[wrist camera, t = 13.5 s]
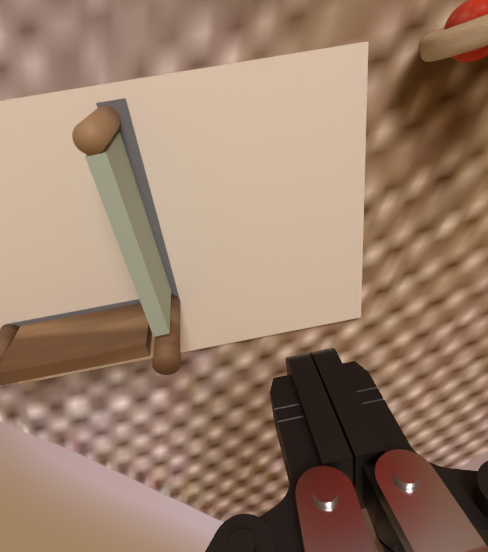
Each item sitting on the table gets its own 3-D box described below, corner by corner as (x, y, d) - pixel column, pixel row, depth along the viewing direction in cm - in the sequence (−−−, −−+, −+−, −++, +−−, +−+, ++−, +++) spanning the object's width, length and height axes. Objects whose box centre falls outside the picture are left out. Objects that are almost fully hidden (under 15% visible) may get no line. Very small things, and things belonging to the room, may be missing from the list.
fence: (182, 309, 36) (183, 371, 29) (6, 343, 36) (-36, 415, 29) (177, 291, 35) (177, 351, 28) (-4, 325, 34) (-50, 396, 28)
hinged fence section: (115, 103, 27) (99, 118, 21) (174, 289, 35) (173, 332, 29) (88, 108, 27) (66, 125, 21) (154, 293, 35) (149, 337, 29)
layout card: (358, 313, 40) (361, 317, 40) (21, 379, 39) (18, 385, 38) (364, 41, 28) (368, 41, 27) (-135, 122, 26) (-143, 124, 25)
